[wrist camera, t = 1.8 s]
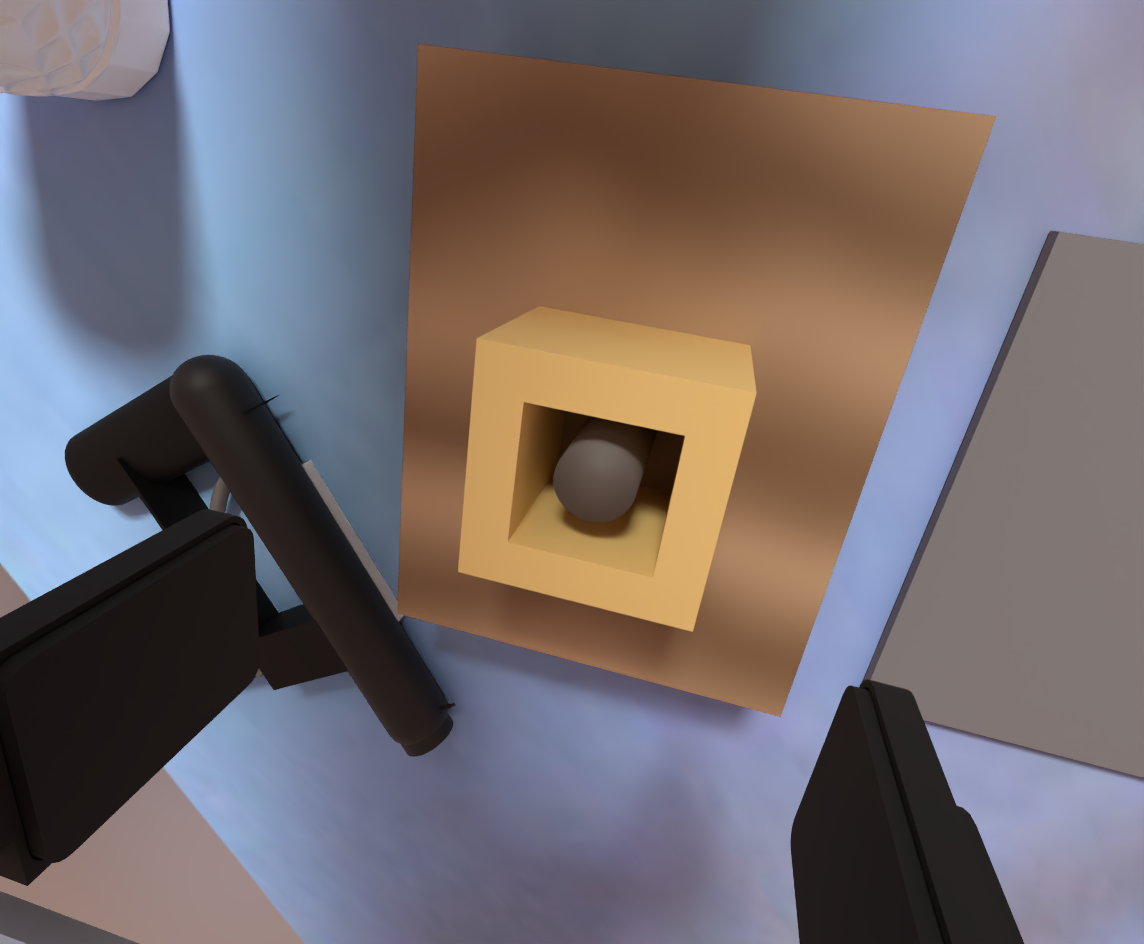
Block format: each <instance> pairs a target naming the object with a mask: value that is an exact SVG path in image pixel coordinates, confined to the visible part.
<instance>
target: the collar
mask: <svg viewBox="0 0 1144 944" xmlns="http://www.w3.org/2000/svg"><path fill="white" fill-rule="evenodd" d="M756 394H757V392H756V385H755V377H754V369H753V362H752V354H751V346H750V345H746V344H740V343H735V342H730V341H724V340H719V339H713V338H708V337H703V336H697V335H692V334H686V333H681V332H676V331H670V330H665V329H659V328H654V327H649V326H643V325H638V324H632V323H627V322H622V321H616V320H611V319H606V318H600V317H595V316H589V315H584V314H579V313H573V312H568V311H562V310H557V309H552V308H546V307H541V306H538V307H537V308H535V309H533V310H531V311H529V312H527V313H525V314H523V315H521V316H519V317H517V318H515V319H513V320H511V321H509V322H507V323H505V324H504V325H502V326H500V327H498V328H496V329H494V330H492V331H490V332H488V333H486V334H484V335H482V336H480V337H478V338H477V342H476V354H475V366H474V379H473V391H472V404H471V416H470V428H469V441H468V453H467V466H466V478H465V490H464V503H463V515H462V528H461V540H460V552H459V565H458V572H460V573H464V574H468V575H472V576H476V577H480V578H484V579H488V580H492V581H496V582H500V583H504V584H507V585H511V586H515V587H519V588H523V589H527V590H531V591H535V592H539V593H543V594H547V595H551V596H555V597H558V598H562V599H566V600H570V601H574V602H578V603H582V604H586V605H590V606H594V607H598V608H602V609H605V610H609V611H613V612H617V613H621V614H625V615H629V616H633V617H637V618H641V619H645V620H649V621H652V622H656V623H660V624H664V625H668V626H672V627H676V628H680V629H684V630H688V631H692V632H693V629H694V625H695V622H696V618H697V614H698V610H699V607H700V603H701V599H702V595H703V592H704V588H705V584H706V581H707V577H708V573H709V569H710V566H711V562H712V558H713V554H714V551H715V547H716V543H717V539H718V536H719V532H720V528H721V524H722V521H723V517H724V513H725V509H726V506H727V502H728V498H729V495H730V491H731V487H732V483H733V480H734V476H735V472H736V468H737V465H738V461H739V457H740V453H741V450H742V446H743V442H744V438H745V435H746V431H747V427H748V423H749V420H750V416H751V412H752V409H753V405H754V401H755V397H756ZM566 411H569V412H574V413H579V414H583V415H588V416H593V417H598V418H602V419H607V420H612V421H617V422H621V423H626V424H631V425H636V426H641V427H645V428H650V429H655V430H660V431H664V432H669V433H674V434H679V435H684V439H683V443H682V447H681V452H680V456H679V461H678V465H677V470H676V474H675V478H674V483H673V487H672V492H671V493H669V492H665V491H661V490H656V489H652V488H647V487H643V486H639V488H638V491H637V494H636V497H635V499H634V502H633V504H632V505H631V507H630V508H629V509H628V511H627V512H625V513H624V514H623V515H622V516H620V517H619V518H616V519H614V520H611V521H608V522H599V523H598V522H589V521H586V520H582V519H580V518H578V517H576V516H574V515H573V514H571V513H570V512H569V511H568V510H567V509H566V508H565V507H564V506H563V505H562V504H561V502H560V501H559V499H558V497H557V495H556V492H555V489H554V482H553V478H554V471H555V468H556V465H557V463H558V461H559V454H560V447H561V440H562V433H563V427H564V420H565V413H566Z"/></svg>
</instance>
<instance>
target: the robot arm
mask: <svg viewBox="0 0 1144 944" xmlns="http://www.w3.org/2000/svg"><path fill="white" fill-rule="evenodd" d="M259 665H260V651H259V632H258V612H257V593H256V574H255V555H254V538H253V533H252V532H251V530H250V529H248V528H247V525H246V523H245V521H244V519H242V518H241V517H238V516H235V515H231V514H227V513H223V512H219V511H215V510H211V509H203V510H200V511H198V512H196V513H194V514H192V515H190V516H189V517H187V518H185V519H183V520H181V521H179V522H177V523H176V524H174V525H172V526H170V527H168V528H166V529H164V530H163V531H161V532H159V533H157V534H155V535H153V536H151V537H150V538H148V539H146V540H144V541H142V542H140V543H138V544H137V545H135V546H133V547H131V548H129V549H127V550H125V551H124V552H122V553H120V554H118V555H116V556H114V557H112V558H111V559H109V560H107V561H105V562H103V563H101V564H99V565H98V566H96V567H94V568H92V569H90V570H88V571H86V572H85V573H83V574H81V575H79V576H77V577H75V578H73V579H72V580H70V581H68V582H66V583H64V584H62V585H60V586H59V587H57V588H55V589H53V590H51V591H49V592H47V593H46V594H44V595H42V596H40V597H38V598H36V599H34V600H33V601H31V602H29V603H27V604H25V605H23V606H22V607H20V608H18V609H16V610H14V611H12V612H10V613H8V614H7V615H5V616H3V617H1V618H0V876H3V877H6V878H8V879H10V880H13V881H16V882H18V883H21V884H24V885H26V886H28V885H29V884H30V883H31V882H32V881H33V880H34V879H35V878H37V877H38V876H39V875H40V874H41V873H42V872H43V871H44V870H45V869H46V868H47V867H48V866H49V865H50V864H51V863H56V862H60V861H62V860H64V859H65V858H67V857H68V856H69V855H71V854H72V853H73V852H74V851H75V850H76V849H78V847H80V846H81V845H82V844H83V843H84V842H85V841H86V840H87V839H88V838H89V837H90V836H91V835H92V834H93V833H94V832H95V831H96V830H97V829H98V828H100V826H102V825H103V824H104V823H105V822H106V821H107V820H108V819H109V818H110V817H111V816H112V815H113V814H114V813H115V812H116V811H117V810H118V809H119V808H120V807H121V806H123V805H124V804H125V803H126V802H127V801H128V800H129V799H130V798H131V797H132V796H133V795H134V794H135V793H136V792H137V791H138V790H139V789H140V788H141V787H142V786H144V785H145V784H146V783H147V782H148V781H149V780H150V779H151V778H152V777H153V776H154V775H155V774H156V773H157V772H158V771H159V770H160V769H161V768H162V767H163V766H164V765H166V764H167V763H168V762H169V761H170V760H171V759H172V758H173V757H174V756H175V755H176V754H177V753H178V752H179V751H180V750H181V749H182V748H183V747H184V746H185V745H187V744H188V743H189V742H190V741H191V740H192V739H193V738H194V737H195V736H196V735H197V734H198V733H199V732H200V731H201V730H202V729H203V728H204V727H205V726H206V725H207V724H209V723H210V722H211V721H212V720H213V719H214V718H215V717H216V716H217V715H218V714H219V713H220V712H221V711H222V710H223V709H224V708H225V707H226V706H227V705H228V704H229V703H231V702H232V701H233V700H234V699H235V698H236V697H237V696H238V695H239V694H240V693H241V692H242V691H243V690H244V689H245V688H246V687H247V686H248V685H249V684H250V683H251V682H252V681H253V679H254V678H255V676H256V674H257V672H258V669H259ZM791 856H792V866H793V877H794V888H795V898H796V909H797V919H798V930H799V941H800V944H1024V942H1023V939H1022V937H1021V935H1020V932H1019V930H1018V927H1017V925H1016V922H1015V920H1014V917H1013V915H1012V912H1011V910H1010V907H1009V905H1008V903H1007V900H1006V898H1005V895H1004V893H1003V890H1002V888H1001V885H1000V883H999V880H998V878H997V875H996V873H995V871H994V868H993V866H992V863H991V861H990V858H989V856H988V853H987V851H986V848H985V846H984V843H983V841H982V838H981V836H980V834H979V831H978V829H977V826H976V824H975V822H974V821H973V819H972V817H971V815H970V814H969V813H968V812H967V811H966V810H965V809H964V808H962V807H959V806H956V803H955V801H954V798H953V796H952V793H951V790H950V788H949V785H948V783H947V780H946V777H945V775H944V772H943V770H942V767H941V765H940V762H939V759H938V757H937V754H936V752H935V749H934V746H933V744H932V741H931V739H930V736H929V733H928V731H927V728H926V726H925V723H924V720H923V718H922V715H921V713H920V710H919V708H918V705H917V702H916V700H915V697H914V695H913V694H912V692H911V691H909V690H908V689H904V688H900V687H896V686H892V685H888V684H884V683H881V682H877V681H873V680H869V679H867V680H864V681H863V682H862V683H861V685H860V687H859V688H858V687H854V686H848V687H847V688H846V690H845V692H844V694H843V696H842V699H841V701H840V704H839V706H838V709H837V711H836V714H835V717H834V719H833V722H832V724H831V727H830V729H829V732H828V734H827V737H826V740H825V742H824V745H823V747H822V750H821V752H820V755H819V757H818V760H817V762H816V765H815V768H814V770H813V773H812V775H811V778H810V780H809V783H808V785H807V788H806V791H805V793H804V796H803V798H802V801H801V803H800V806H799V808H798V811H797V813H796V816H795V819H794V822H793V826H792V832H791ZM0 944H139V943H136V942H134V941H131V940H128V939H126V938H123V937H120V936H118V935H115V934H112V933H110V932H107V931H105V930H102V929H99V928H97V927H94V926H91V925H89V924H86V923H83V922H81V921H78V920H75V919H72V918H70V917H67V916H65V915H62V914H59V913H57V912H54V911H51V910H49V909H46V908H44V907H41V906H38V905H36V904H33V903H30V902H28V901H25V900H22V899H20V898H17V897H14V896H11V895H9V894H6V893H4V892H1V891H0Z"/></svg>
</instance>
